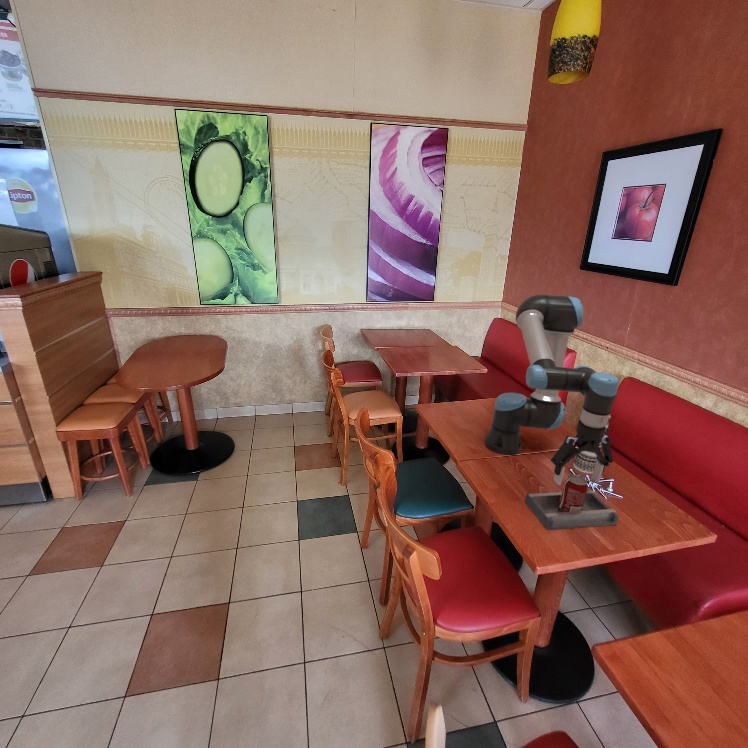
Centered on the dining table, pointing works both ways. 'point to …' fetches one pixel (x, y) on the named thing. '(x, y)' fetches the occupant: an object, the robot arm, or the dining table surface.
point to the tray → (555, 518)
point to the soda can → (573, 494)
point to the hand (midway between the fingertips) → (576, 481)
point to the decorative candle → (588, 457)
